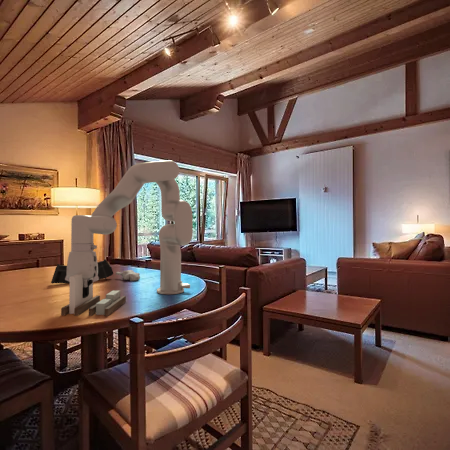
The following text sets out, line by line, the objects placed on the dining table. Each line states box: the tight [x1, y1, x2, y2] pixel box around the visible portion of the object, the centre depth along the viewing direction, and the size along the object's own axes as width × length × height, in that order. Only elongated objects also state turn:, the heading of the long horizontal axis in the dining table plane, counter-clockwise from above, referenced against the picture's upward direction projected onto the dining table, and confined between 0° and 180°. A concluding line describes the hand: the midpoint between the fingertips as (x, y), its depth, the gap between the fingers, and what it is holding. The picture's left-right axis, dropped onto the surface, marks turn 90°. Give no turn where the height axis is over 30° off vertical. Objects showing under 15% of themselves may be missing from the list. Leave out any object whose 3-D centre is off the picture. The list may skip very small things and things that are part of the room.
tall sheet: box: [68, 274, 94, 315], centre depth 112 cm, size 2×14×13 cm, turn 0°
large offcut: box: [105, 290, 121, 304], centre depth 117 cm, size 3×7×5 cm, turn 0°
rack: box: [60, 295, 127, 317], centre depth 112 cm, size 16×18×2 cm
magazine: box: [50, 258, 114, 285], centre depth 160 cm, size 17×3×30 cm
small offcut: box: [95, 298, 111, 316], centre depth 108 cm, size 3×6×4 cm, turn 0°
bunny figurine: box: [115, 269, 141, 282], centre depth 168 cm, size 10×5×15 cm
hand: (81, 296), depth 112 cm, fingers closed on tall sheet, 2 cm apart
